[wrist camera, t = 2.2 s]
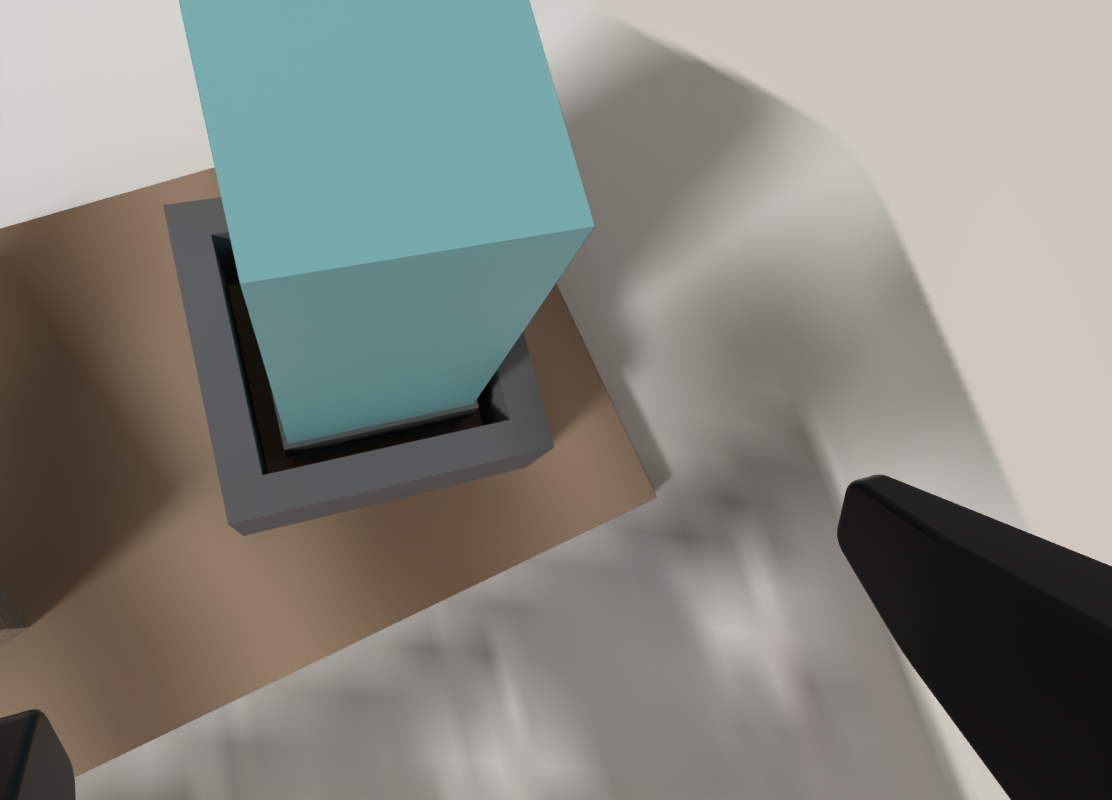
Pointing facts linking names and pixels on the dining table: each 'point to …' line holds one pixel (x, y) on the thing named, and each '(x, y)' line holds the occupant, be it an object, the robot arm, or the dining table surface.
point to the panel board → (220, 494)
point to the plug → (385, 200)
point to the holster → (341, 483)
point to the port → (9, 620)
